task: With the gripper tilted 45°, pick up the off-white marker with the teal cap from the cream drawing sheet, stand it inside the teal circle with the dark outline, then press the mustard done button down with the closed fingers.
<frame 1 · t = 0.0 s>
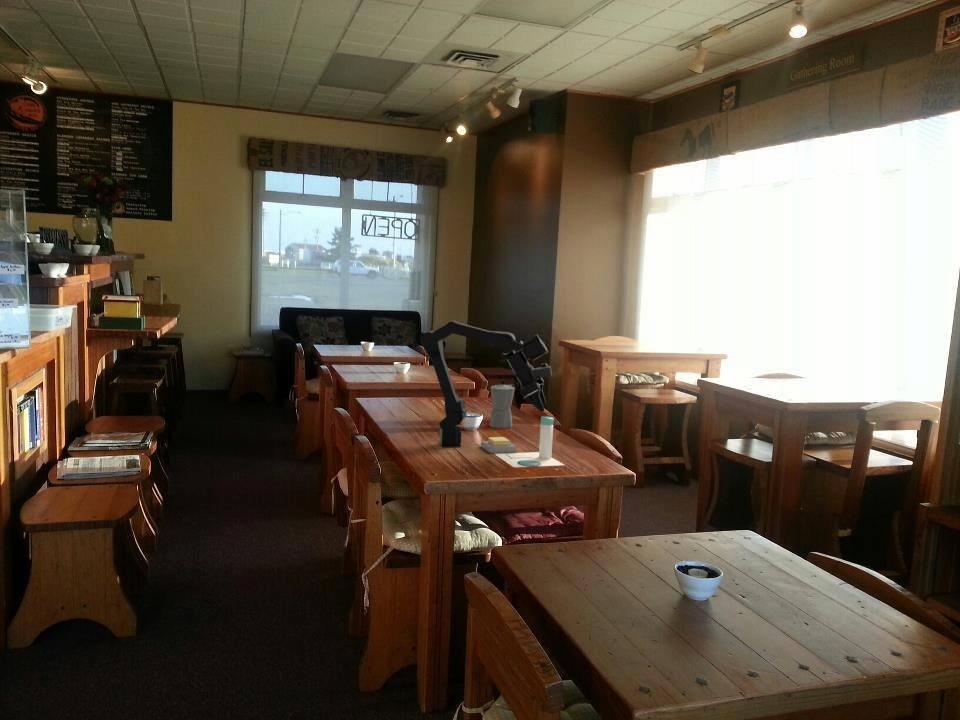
hand: (544, 408, 251), 15 cm above the table, tool tilted 35°, fingers open, 9 cm apart
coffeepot: (502, 426, 295), on the table
done button: (498, 442, 252), point 3 cm above the table, slide at 0.0 cm
drawing board: (528, 460, 241), on the table
marker: (545, 457, 244), resting on drawing board
button housing: (498, 450, 253), on the table
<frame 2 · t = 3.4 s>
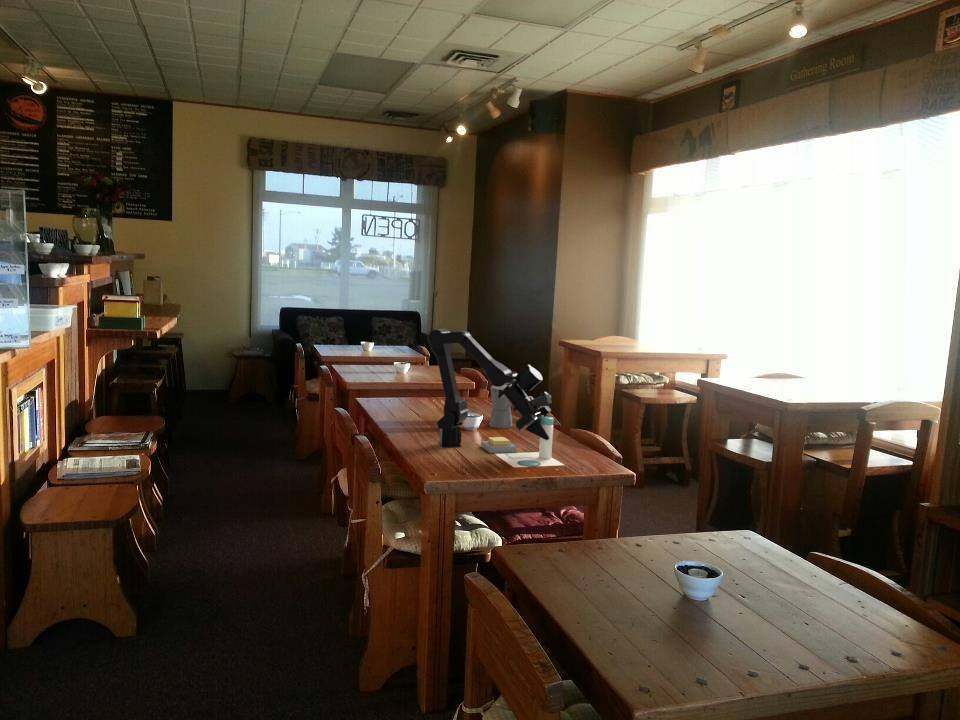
hand: (550, 438, 243), 7 cm above the table, tool tilted 45°, fingers closed on marker, 4 cm apart
marker: (545, 457, 244), point 1 cm above the table, touching drawing board, gripper
everything else where it was.
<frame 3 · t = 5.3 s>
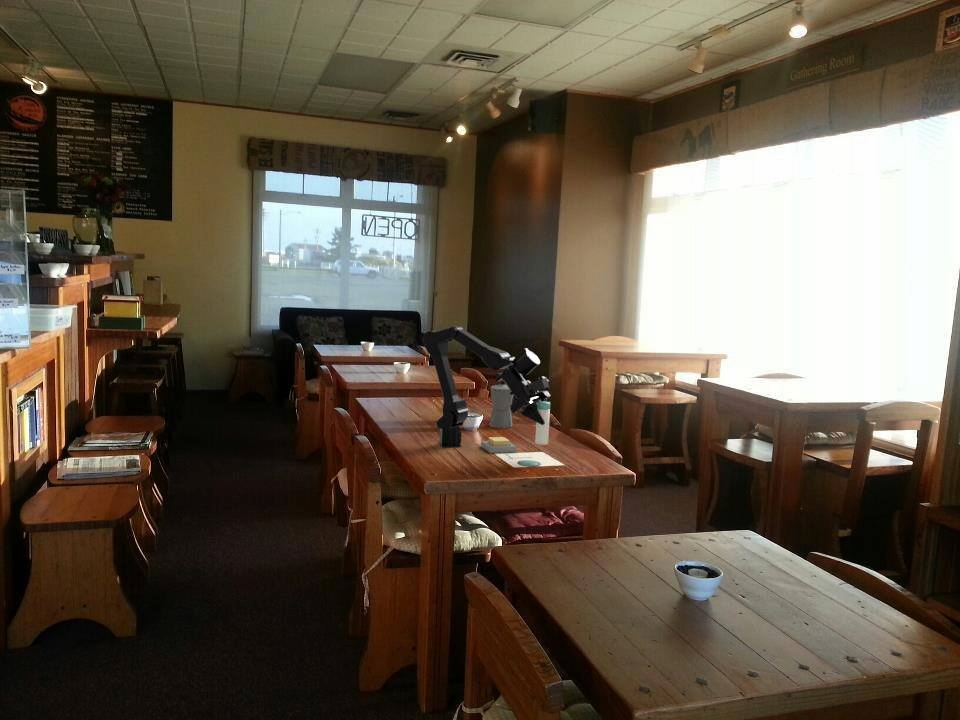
hand: (546, 423, 239), 13 cm above the table, tool tilted 45°, fingers closed on marker, 4 cm apart
marker: (541, 443, 241), point 6 cm above the table, touching gripper
everything else where it was.
when the fingers open (8 cm above the table, at t = 7.3 s): marker stays where it is, resting on drawing board.
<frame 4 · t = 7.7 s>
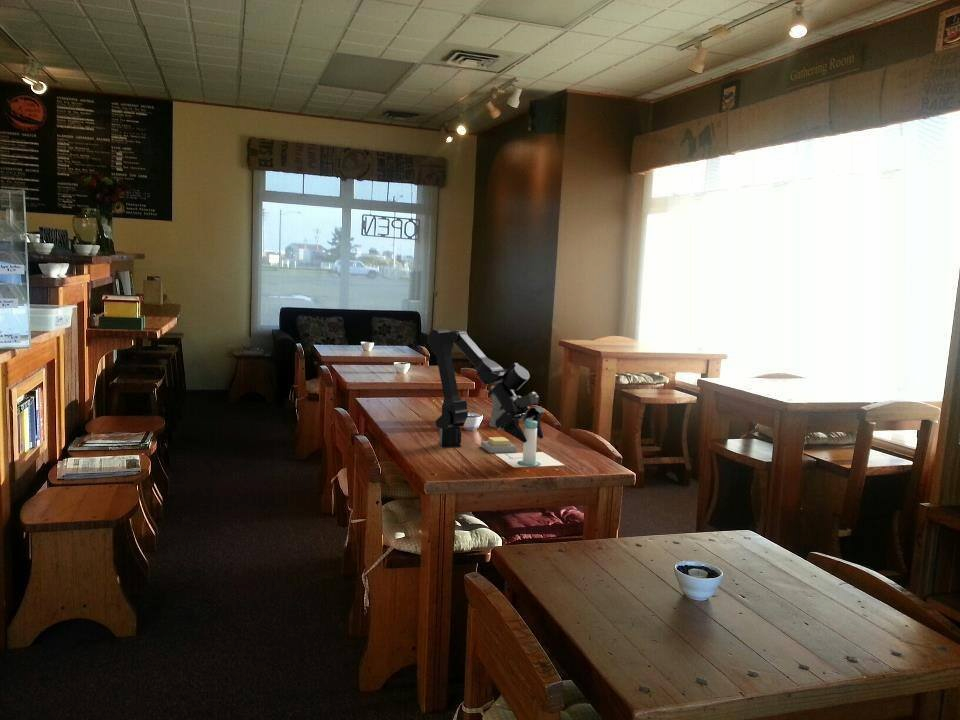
hand: (534, 440, 234), 8 cm above the table, tool tilted 45°, fingers open, 8 cm apart
marker: (529, 462, 236), point 1 cm above the table, touching drawing board
everything else where it was.
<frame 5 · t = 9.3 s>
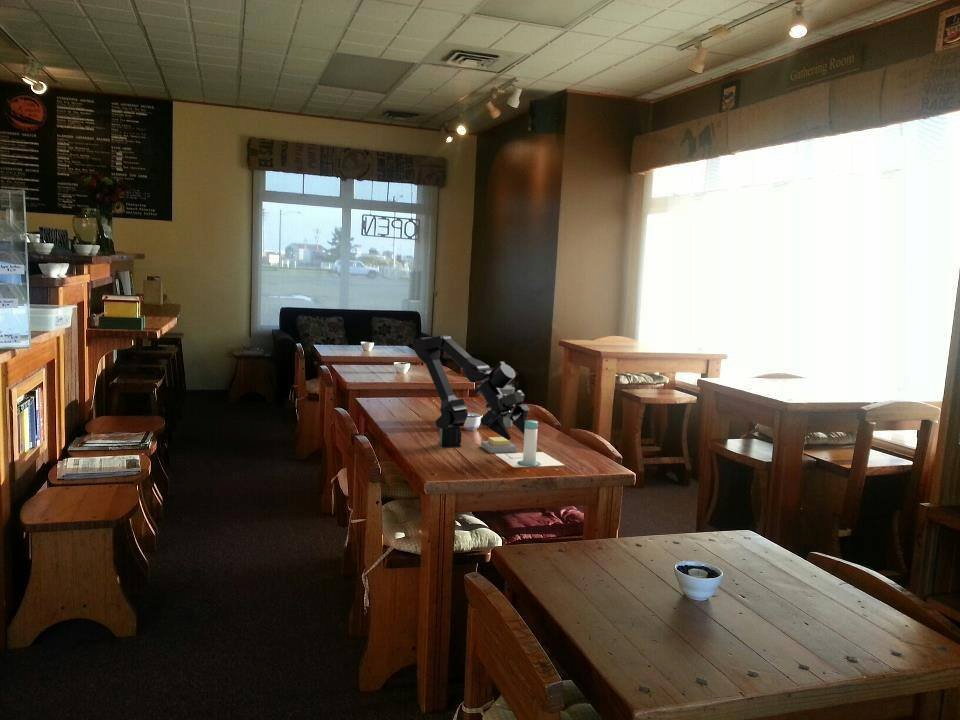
hand: (519, 437, 238), 8 cm above the table, tool tilted 45°, fingers open, 9 cm apart
nothing on the table moved.
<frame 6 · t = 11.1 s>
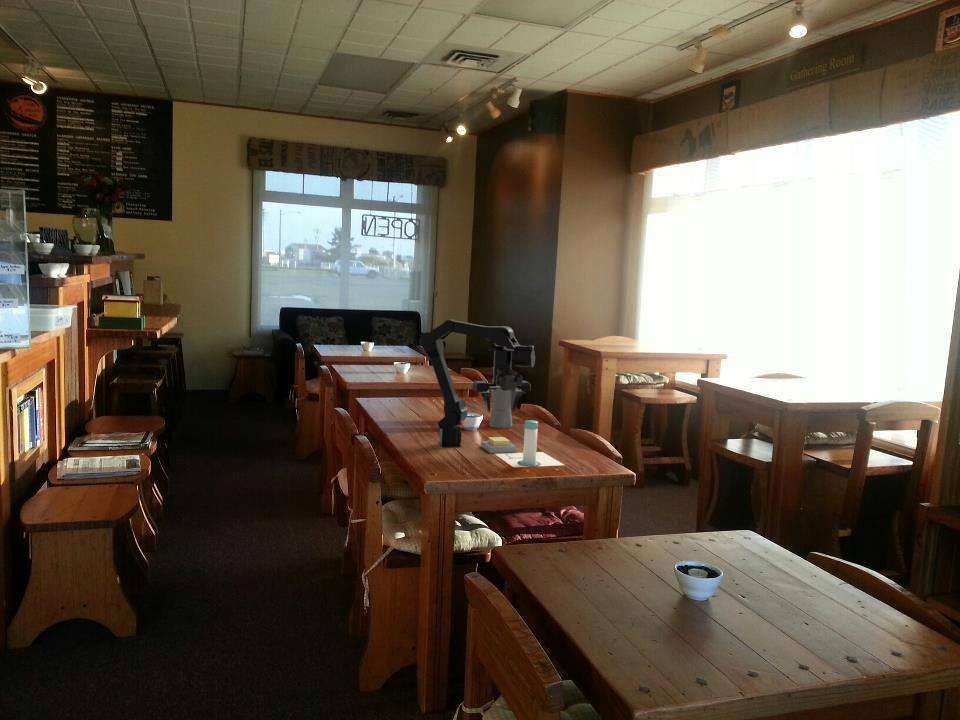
hand: (500, 412, 251), 13 cm above the table, tool pointing down, fingers open, 8 cm apart
nothing on the table moved.
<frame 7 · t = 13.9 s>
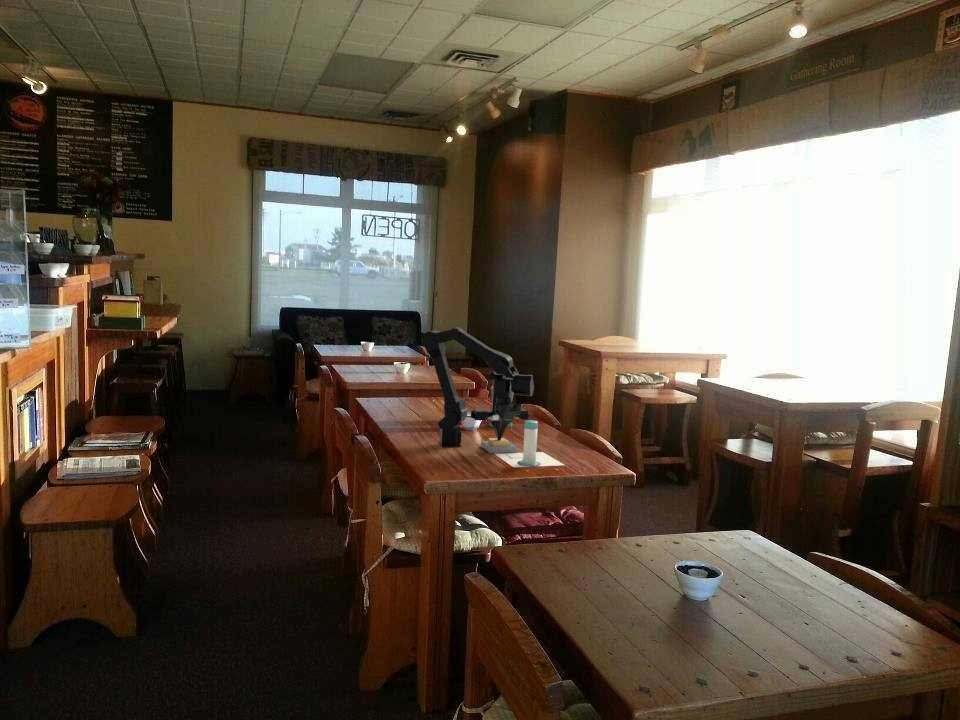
hand: (498, 439, 252), 4 cm above the table, tool pointing down, fingers closed, pressing on done button
done button: (498, 443, 253), point 3 cm above the table, slide at 0.3 cm, touching gripper
everything else where it was.
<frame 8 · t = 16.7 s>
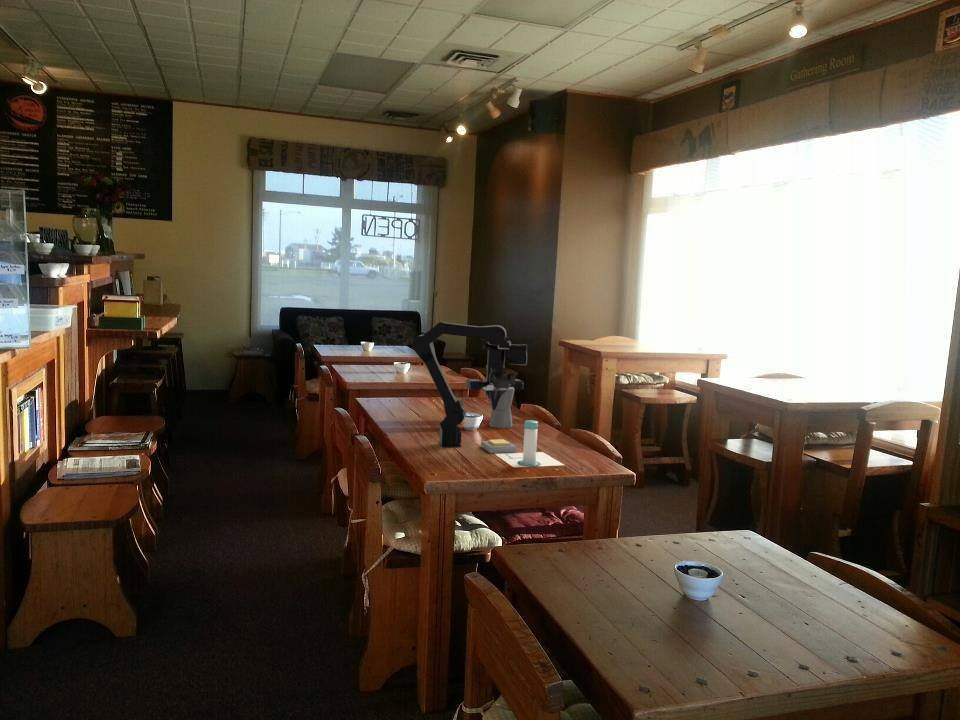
hand: (493, 409, 255), 13 cm above the table, tool pointing down, fingers closed
done button: (498, 444, 253), point 2 cm above the table, slide at 0.8 cm, touching button housing
everything else where it was.
at the end: marker 0.0 cm from the target spot, point 0.7 cm above the table; marker tilted 0°; done button slide at 0.8 cm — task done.
